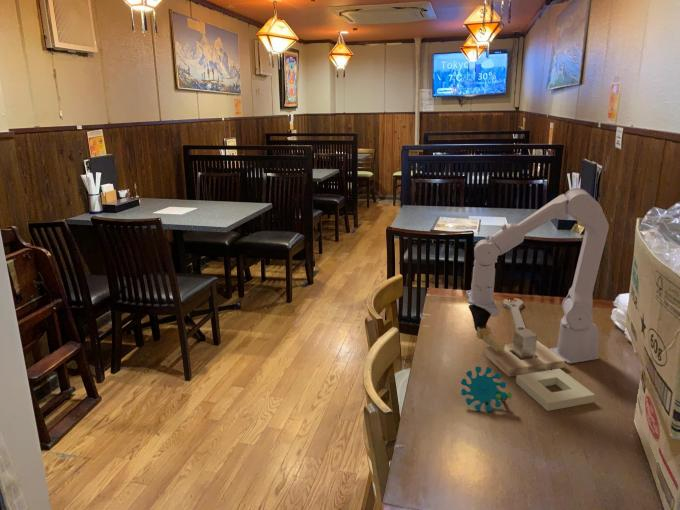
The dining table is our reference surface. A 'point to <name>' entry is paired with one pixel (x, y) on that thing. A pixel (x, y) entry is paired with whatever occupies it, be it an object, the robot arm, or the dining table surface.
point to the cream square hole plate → (556, 400)
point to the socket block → (515, 366)
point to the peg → (524, 344)
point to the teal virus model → (484, 389)
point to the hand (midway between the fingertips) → (479, 330)
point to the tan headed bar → (490, 338)
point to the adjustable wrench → (515, 312)
